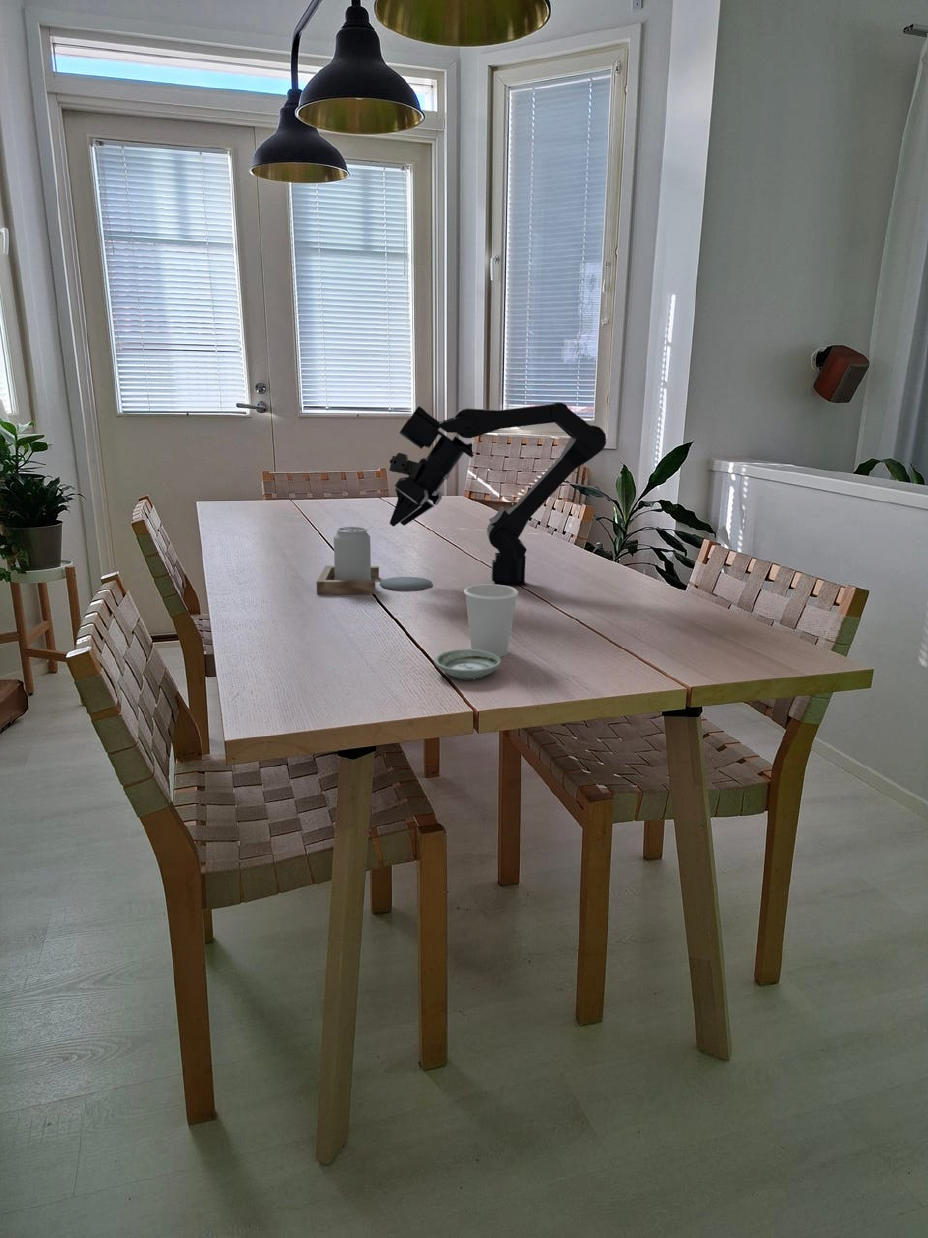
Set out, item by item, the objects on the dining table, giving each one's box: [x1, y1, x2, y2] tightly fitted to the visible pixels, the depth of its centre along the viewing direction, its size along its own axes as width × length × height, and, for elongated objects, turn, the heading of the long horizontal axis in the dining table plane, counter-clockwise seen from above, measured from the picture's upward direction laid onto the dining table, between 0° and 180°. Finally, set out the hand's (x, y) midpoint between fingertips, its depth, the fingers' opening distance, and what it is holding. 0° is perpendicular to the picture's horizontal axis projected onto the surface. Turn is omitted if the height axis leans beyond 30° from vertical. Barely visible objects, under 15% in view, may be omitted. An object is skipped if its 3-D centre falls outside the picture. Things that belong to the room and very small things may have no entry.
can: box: [333, 526, 372, 580], centre depth 166 cm, size 8×8×12 cm
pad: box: [379, 576, 433, 592], centre depth 169 cm, size 11×11×1 cm
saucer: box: [433, 648, 502, 680], centre depth 117 cm, size 10×10×2 cm
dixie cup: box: [463, 583, 519, 658], centre depth 126 cm, size 8×8×10 cm
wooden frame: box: [316, 565, 380, 595], centre depth 168 cm, size 12×15×2 cm
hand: (397, 524), depth 168 cm, fingers open, 9 cm apart
